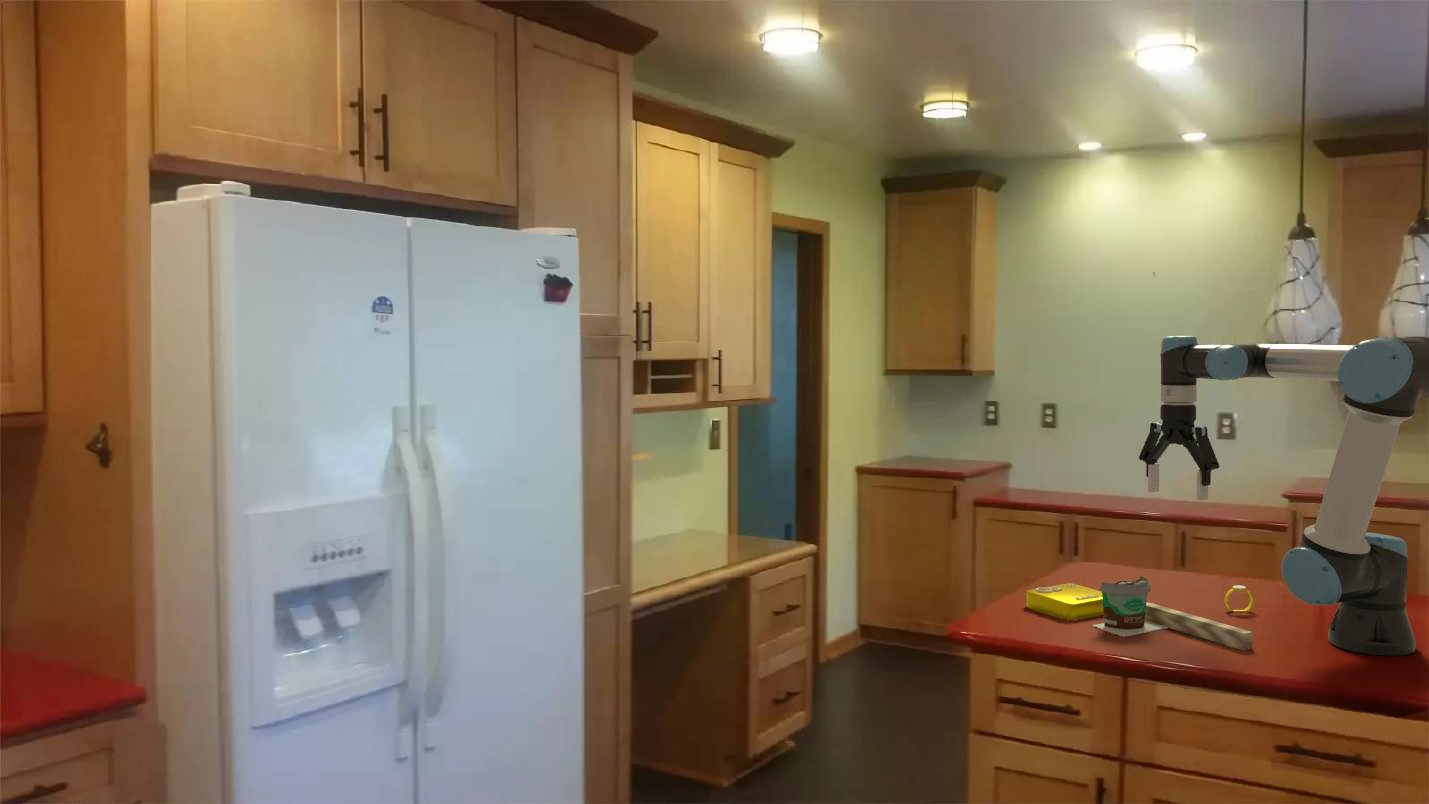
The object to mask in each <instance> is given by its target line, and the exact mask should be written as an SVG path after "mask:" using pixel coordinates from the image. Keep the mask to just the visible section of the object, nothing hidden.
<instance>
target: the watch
mask: <svg viewBox="0 0 1429 804" xmlns="http://www.w3.org/2000/svg"><path fill="white" fill-rule="evenodd" d="M1236 591H1237V592H1246V593H1247V595H1249V603H1248V606H1247V607H1245V608H1244V609H1233V608H1231V606H1230V604H1229V599H1230V596H1231V595H1232V594H1233V593H1234V592H1236ZM1254 603H1255V598H1254V596H1253V594H1252V592H1251V591H1250V590H1248V589H1247V587H1246V586H1244V585H1240V584H1239V585H1238V584H1237V585H1233V586H1232V588H1230V589H1228V591H1227V592H1226V594H1225V596H1224V604H1225V606H1226V608H1227V609H1228V610H1230V611H1231V612H1232V611H1248V612H1250V611H1251V610H1252V608H1254V607H1253V606H1254Z"/></svg>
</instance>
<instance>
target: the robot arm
mask: <svg viewBox="0 0 1429 804" xmlns="http://www.w3.org/2000/svg"><path fill="white" fill-rule="evenodd" d="M1160 348H1161V349H1160V355H1159V356H1160V401H1161V402H1162V404H1161V405H1160V413H1159V414H1160V415H1159V417H1160V420H1161V421H1162V422H1159V421H1158V422H1151V423H1150V425H1149V433H1148V435H1147V436H1146V439H1145V442H1144V444H1143V446H1142V449H1141V451H1140V453H1139V456H1138V460H1140V461H1143V462H1144V463H1145V465H1146V467H1145V468H1146V469H1145V470H1146V471H1145V475H1146V478H1147V493H1156V492H1157V493H1158V492H1160V464H1159V461H1158V460H1159V459H1160V458H1161V456H1162V455H1163V454H1164V453H1165V451H1166V450H1167V448H1168V447H1169V446H1170V445H1174V444H1176V445H1178V446H1180V445H1182V446H1183V447H1184V448H1186V450H1187V452H1188V453H1189V454H1190V456H1191V457H1192V459H1193V460H1194V463H1196V465H1197V467H1198V468H1199V470H1197V471H1196V501H1205V500H1206V501H1208V500H1209V486H1210V485H1211V481H1212V480H1211V478H1212V477H1211V475H1212V471H1213V470H1217V469H1219V468H1220V464H1219V461H1218V459H1217V457H1216V453H1215V450H1214V449H1213V446H1212V443H1211V441H1210V439H1209V436H1208V427H1207V426H1205V425H1204V426H1203V425H1202V426H1195V421H1196V420H1197V405H1196V404H1194V403H1196V402H1197V391H1198V390H1197V388H1198V387H1197V381H1198V379H1203V380H1204V379H1205V380H1207V379H1208V380H1218V381H1230V380H1231V381H1233V380H1238V379H1241V378H1242V379H1244V378H1264V379H1265V378H1267V379H1269V378H1270V379H1290V380H1291V379H1292V380H1307V381H1325V382H1326V381H1328V382H1338V383H1339V384H1341V386H1340V389H1341V390H1342V392H1344V395H1343V397H1342V403H1343V405H1344V406H1345V407H1346V408H1347V410H1348V414H1347V416H1346V420H1345V423H1344V427H1343V430H1342V433H1341V437H1340V440H1339V443H1338V447H1337V451H1336V453H1335V456H1334V460H1333V464H1332V467H1331V470H1330V473H1329V478H1328V481H1327V482H1326V483H1327V484H1326V487H1325V491H1324V494H1323V497H1322V500H1321V504H1320V508H1319V510H1318V515H1317V517H1316V520H1315V523H1314V524H1312V525H1308V526H1307V527H1305V528H1304V531H1303V534H1302V537H1301V541H1300V543H1299V546H1295V547H1293V548H1292V549H1290V550H1288V551H1287V552H1286V553H1285V555H1284V556H1283V558H1282V562H1281V569H1280V570H1281V575H1282V576H1281V577H1282V579H1283V581H1284V583H1286V585H1287V589H1288V590H1289V592H1290V593H1291V594H1293V596H1294V597H1295V598H1297V599H1298V600H1299V601H1301V602H1303V603H1305V604H1307V605H1311V606H1332V605H1335V604H1337V603H1338V606H1337V608H1336V611H1335V613H1334V615H1333V618H1332V621H1331V622H1330V623H1331V624H1330V626H1329V629H1328V642H1329V643H1330V644H1332V645H1333V646H1335V647H1337V648H1340V649H1343V650H1346V651H1351V652H1355V653H1360V654H1366V655H1373V656H1388V657H1396V656H1405V655H1406V656H1407V655H1411V654H1413V653H1415V652H1416V637H1415V634H1414V632H1413V629H1412V625H1411V622H1410V620H1409V617H1408V613H1407V588H1408V587H1407V586H1408V584H1407V583H1408V560H1409V555H1408V544H1407V542H1406V541H1405V540H1404V539H1402V538H1401V537H1398V536H1394V535H1388V534H1382V533H1377V532H1369V531H1368V527H1369V524H1370V521H1371V519H1372V515H1373V512H1374V509H1375V506H1376V503H1377V500H1378V496H1379V493H1380V489H1381V487H1382V486H1381V485H1382V483H1383V481H1384V476H1385V474H1386V472H1387V471H1386V470H1387V467H1388V464H1389V461H1390V458H1391V454H1392V452H1393V448H1394V446H1395V442H1396V439H1397V437H1398V433H1399V429H1400V427H1401V424H1402V423H1403V422H1405V421H1408V420H1410V419H1412V418H1413V417H1414V413H1415V411H1416V408H1417V405H1418V402H1419V399H1426V398H1429V337H1426V336H1408V337H1388V336H1382V337H1381V336H1380V337H1376V338H1372V339H1367V340H1363V341H1361V342H1358V343H1357V344H1351V345H1350V344H1348V345H1347V344H1310V343H1309V344H1307V343H1306V344H1303V343H1301V344H1300V343H1293V344H1292V343H1272V342H1258V343H1245V344H1244V343H1243V344H1242V343H1240V344H1239V343H1238V344H1237V343H1236V344H1201V345H1200V344H1198V338H1197V337H1196V336H1195V335H1171V336H1170V335H1169V336H1164V337H1163V338H1162V339H1161V347H1160ZM1161 434H1162V435H1161ZM1367 531H1368V532H1367Z"/></svg>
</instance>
